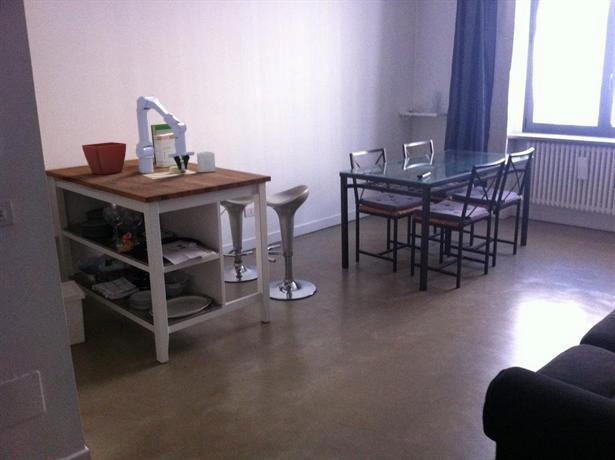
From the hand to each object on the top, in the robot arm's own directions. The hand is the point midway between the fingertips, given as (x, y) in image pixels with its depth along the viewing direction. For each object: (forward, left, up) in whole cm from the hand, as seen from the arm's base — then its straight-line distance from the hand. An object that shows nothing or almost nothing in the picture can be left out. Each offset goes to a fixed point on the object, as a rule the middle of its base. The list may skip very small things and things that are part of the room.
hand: (182, 169), depth 335 cm
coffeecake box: (-43, +9, -4) cm, 44 cm away
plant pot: (-44, -29, -4) cm, 53 cm away
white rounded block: (-1, +15, -3) cm, 15 cm away
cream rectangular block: (-7, 0, -2) cm, 7 cm away
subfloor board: (-6, -5, -3) cm, 9 cm away
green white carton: (-61, +16, -3) cm, 63 cm away
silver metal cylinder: (0, 0, -2) cm, 2 cm away
